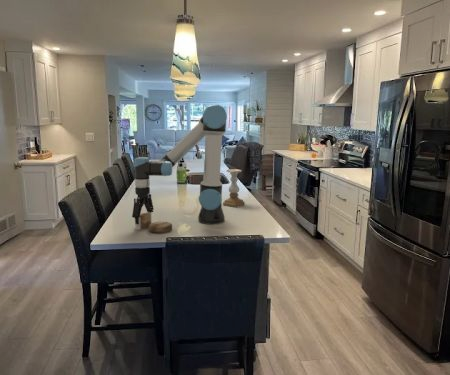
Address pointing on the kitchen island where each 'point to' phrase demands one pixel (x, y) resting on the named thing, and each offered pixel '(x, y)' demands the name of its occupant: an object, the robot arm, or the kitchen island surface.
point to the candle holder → (233, 190)
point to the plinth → (160, 227)
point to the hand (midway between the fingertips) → (143, 226)
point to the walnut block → (144, 220)
